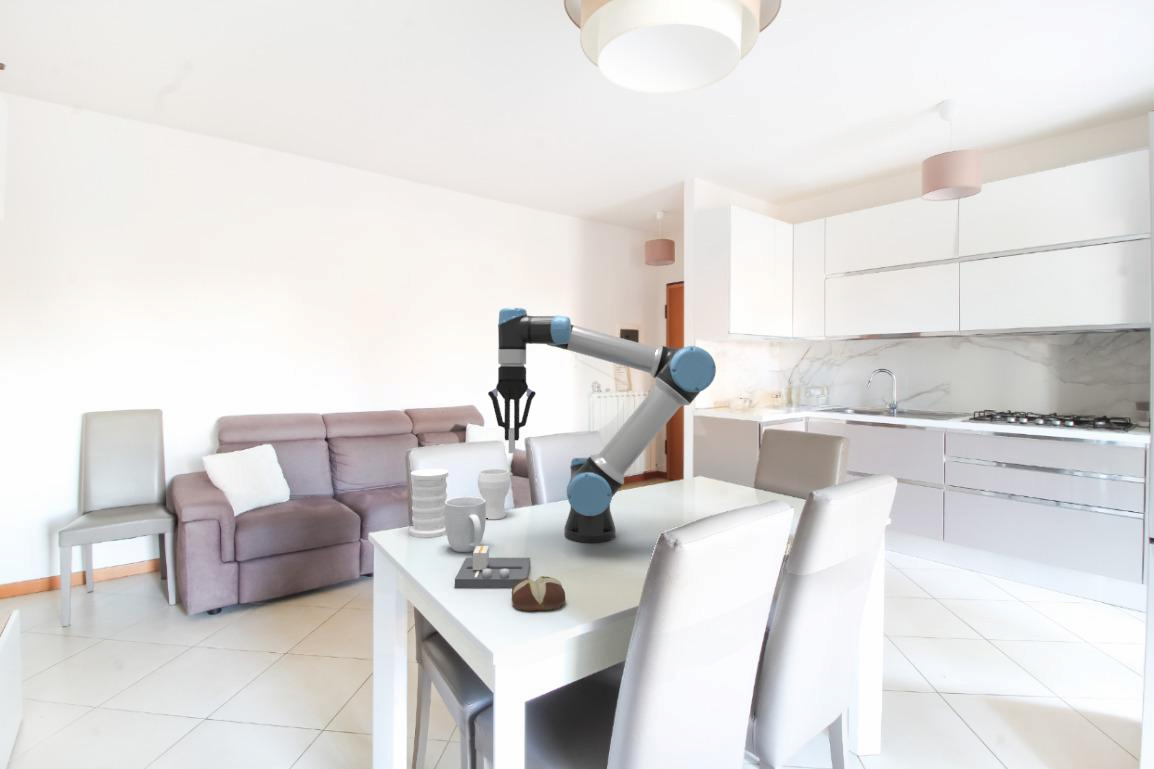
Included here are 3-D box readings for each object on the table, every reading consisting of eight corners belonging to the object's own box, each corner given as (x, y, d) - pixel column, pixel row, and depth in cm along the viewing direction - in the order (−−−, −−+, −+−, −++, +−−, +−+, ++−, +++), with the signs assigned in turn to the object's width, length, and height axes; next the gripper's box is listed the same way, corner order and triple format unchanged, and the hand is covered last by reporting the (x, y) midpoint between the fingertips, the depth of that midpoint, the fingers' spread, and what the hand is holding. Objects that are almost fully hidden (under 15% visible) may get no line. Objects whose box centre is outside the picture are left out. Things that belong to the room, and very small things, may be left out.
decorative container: (418, 540, 157) (418, 477, 157) (403, 530, 166) (403, 471, 166) (456, 532, 164) (456, 472, 164) (439, 524, 174) (439, 467, 173)
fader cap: (488, 562, 133) (488, 545, 133) (485, 570, 128) (485, 552, 128) (476, 562, 133) (476, 545, 133) (472, 569, 128) (472, 552, 128)
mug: (498, 554, 146) (498, 505, 145) (458, 562, 140) (458, 511, 139) (476, 539, 158) (476, 494, 158) (438, 546, 152) (438, 499, 152)
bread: (566, 612, 112) (566, 588, 112) (510, 614, 111) (510, 589, 111) (563, 590, 123) (563, 568, 123) (512, 591, 123) (512, 569, 122)
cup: (473, 520, 178) (473, 473, 178) (483, 511, 189) (484, 468, 188) (504, 521, 177) (504, 475, 176) (513, 513, 187) (514, 469, 187)
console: (530, 565, 138) (530, 551, 138) (526, 588, 124) (526, 572, 124) (466, 565, 138) (466, 551, 138) (454, 587, 124) (454, 572, 124)
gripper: (537, 365, 153) (536, 450, 154) (490, 365, 153) (489, 450, 154) (535, 365, 146) (535, 454, 146) (486, 365, 145) (485, 454, 146)
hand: (511, 452), depth 150 cm, fingers closed
